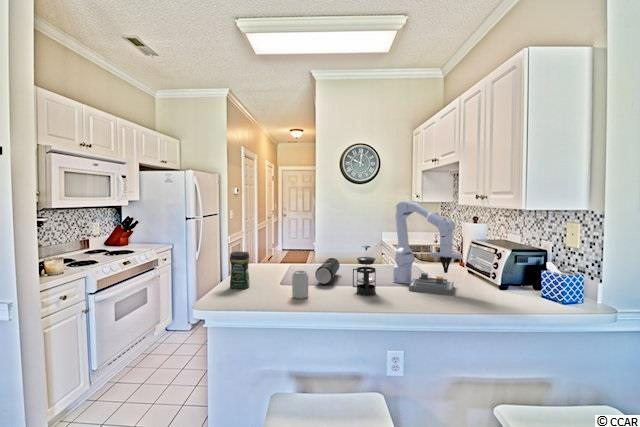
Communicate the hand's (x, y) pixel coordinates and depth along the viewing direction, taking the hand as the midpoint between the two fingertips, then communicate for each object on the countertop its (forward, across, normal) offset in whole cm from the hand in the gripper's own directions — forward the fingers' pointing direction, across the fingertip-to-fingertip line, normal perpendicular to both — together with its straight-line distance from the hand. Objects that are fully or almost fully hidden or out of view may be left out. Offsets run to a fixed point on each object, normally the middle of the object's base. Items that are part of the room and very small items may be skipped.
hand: (445, 272), depth 172 cm
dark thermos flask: (+10, -62, 0) cm, 63 cm away
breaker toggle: (+7, -3, 0) cm, 7 cm away
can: (+10, -62, -35) cm, 72 cm away
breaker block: (+10, -7, +3) cm, 12 cm away
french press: (+10, -36, -17) cm, 41 cm away
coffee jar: (+9, -98, -32) cm, 103 cm away
